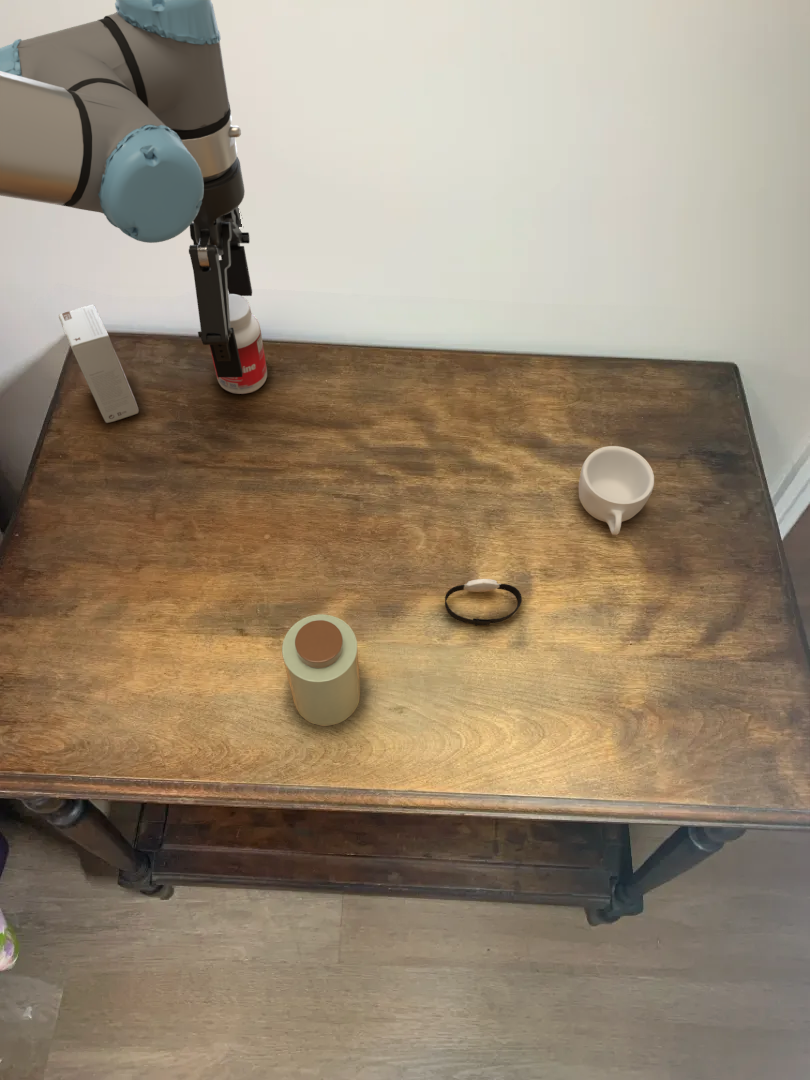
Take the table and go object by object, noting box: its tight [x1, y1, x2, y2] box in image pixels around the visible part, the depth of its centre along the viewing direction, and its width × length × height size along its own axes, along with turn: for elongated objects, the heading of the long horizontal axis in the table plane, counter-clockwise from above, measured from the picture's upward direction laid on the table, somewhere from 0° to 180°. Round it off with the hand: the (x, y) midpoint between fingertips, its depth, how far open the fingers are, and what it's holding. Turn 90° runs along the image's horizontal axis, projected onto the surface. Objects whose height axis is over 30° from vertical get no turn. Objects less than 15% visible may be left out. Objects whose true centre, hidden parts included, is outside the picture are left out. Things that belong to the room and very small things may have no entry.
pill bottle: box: [209, 293, 268, 395], centre depth 96 cm, size 6×6×11 cm
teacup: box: [578, 445, 655, 536], centre depth 88 cm, size 10×8×5 cm
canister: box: [281, 613, 361, 727], centre depth 73 cm, size 6×6×11 cm
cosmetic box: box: [58, 303, 140, 424], centre depth 93 cm, size 6×4×12 cm
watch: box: [444, 578, 523, 627], centre depth 81 cm, size 8×5×4 cm, turn 93°
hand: (235, 333), depth 94 cm, fingers open, 13 cm apart
